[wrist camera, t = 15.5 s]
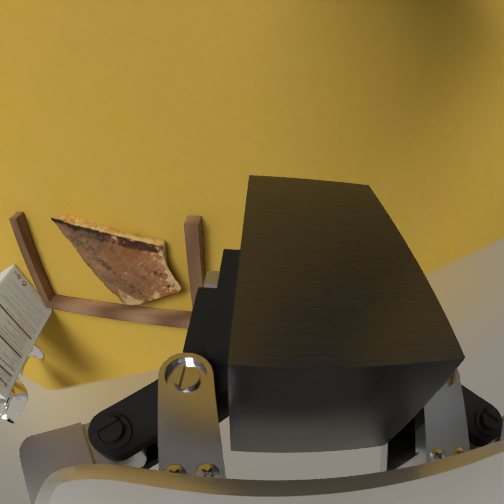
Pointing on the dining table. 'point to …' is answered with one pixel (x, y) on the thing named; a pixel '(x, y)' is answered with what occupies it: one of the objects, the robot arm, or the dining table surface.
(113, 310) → the frame
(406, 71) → the dining table surface
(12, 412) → the wineglass
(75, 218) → the shard
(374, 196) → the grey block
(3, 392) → the supplement box
